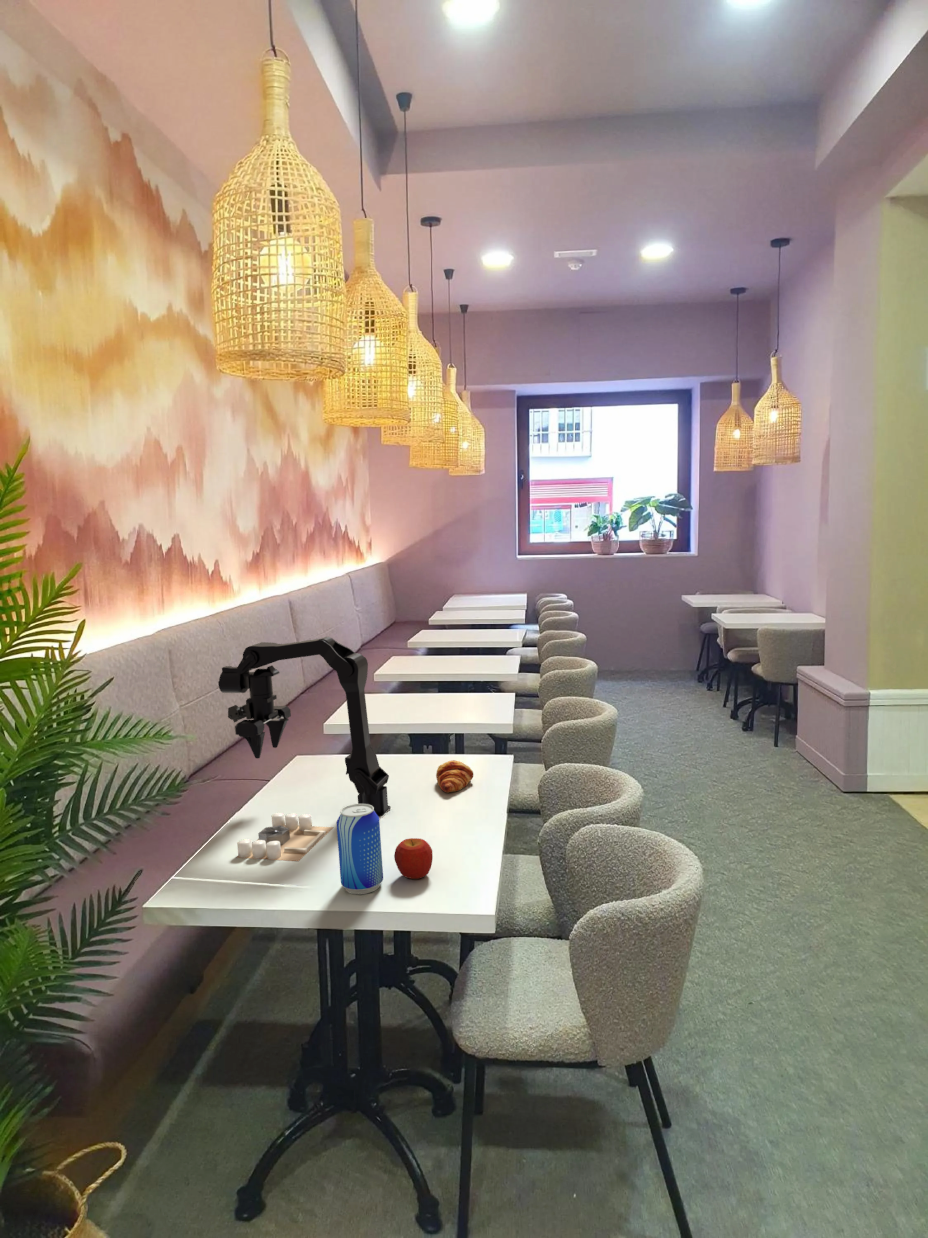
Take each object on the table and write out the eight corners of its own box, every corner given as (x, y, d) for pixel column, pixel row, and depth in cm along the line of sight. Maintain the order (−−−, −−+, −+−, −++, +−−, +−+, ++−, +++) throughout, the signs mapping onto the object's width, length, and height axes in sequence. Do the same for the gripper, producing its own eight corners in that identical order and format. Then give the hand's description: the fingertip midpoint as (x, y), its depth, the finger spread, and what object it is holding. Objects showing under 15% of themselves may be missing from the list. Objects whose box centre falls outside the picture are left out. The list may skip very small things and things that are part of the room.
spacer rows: (314, 826, 196) (313, 814, 195) (277, 860, 177) (276, 846, 177) (276, 824, 198) (275, 812, 198) (235, 857, 180) (234, 844, 180)
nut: (293, 835, 191) (292, 825, 190) (279, 848, 184) (278, 837, 184) (269, 834, 192) (269, 824, 192) (255, 846, 185) (254, 836, 185)
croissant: (451, 783, 234) (437, 759, 234) (481, 766, 232) (467, 742, 232) (439, 808, 213) (423, 782, 213) (471, 790, 211) (456, 764, 211)
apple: (403, 888, 162) (400, 850, 161) (390, 873, 169) (388, 836, 168) (439, 879, 165) (437, 842, 164) (425, 864, 172) (423, 829, 171)
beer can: (365, 899, 158) (360, 820, 156) (332, 891, 162) (326, 813, 160) (392, 882, 165) (387, 805, 163) (359, 874, 169) (354, 799, 167)
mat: (333, 829, 194) (333, 824, 194) (298, 863, 176) (298, 857, 176) (276, 826, 198) (275, 821, 198) (235, 859, 180) (235, 853, 180)
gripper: (251, 684, 218) (256, 741, 220) (212, 701, 200) (218, 763, 202) (289, 685, 215) (294, 742, 217) (253, 701, 197) (259, 764, 199)
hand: (266, 752), depth 209 cm, fingers open, 9 cm apart
